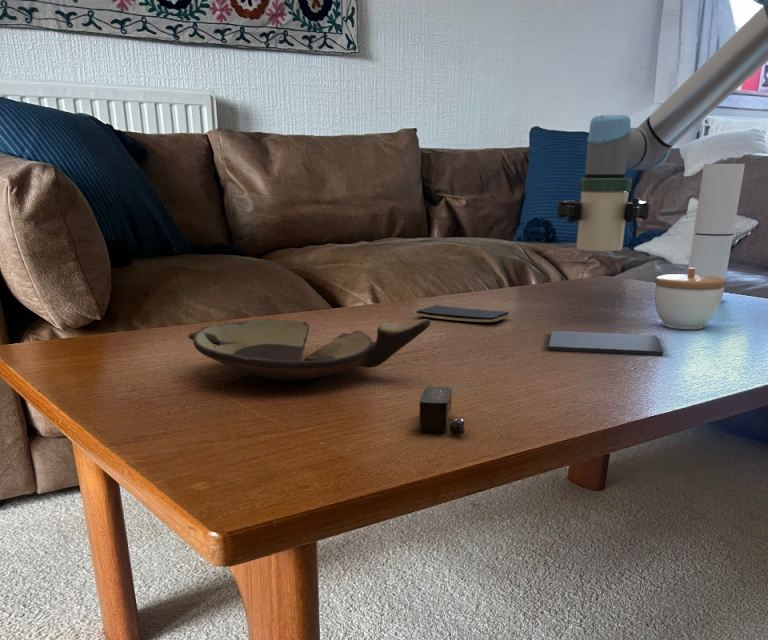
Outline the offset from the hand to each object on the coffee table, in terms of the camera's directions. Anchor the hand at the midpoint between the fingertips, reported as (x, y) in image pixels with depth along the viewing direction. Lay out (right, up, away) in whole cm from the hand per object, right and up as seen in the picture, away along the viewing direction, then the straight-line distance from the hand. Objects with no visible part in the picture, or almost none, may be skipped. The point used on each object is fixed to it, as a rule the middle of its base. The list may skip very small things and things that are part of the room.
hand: (603, 212), depth 125 cm
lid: (+1, +6, +2) cm, 7 cm away
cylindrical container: (+29, -6, +31) cm, 43 cm away
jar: (+1, -4, +7) cm, 8 cm away
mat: (-2, -23, -7) cm, 24 cm away
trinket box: (+15, -17, +6) cm, 24 cm away
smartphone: (-21, -14, +13) cm, 29 cm away
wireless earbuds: (-29, -39, -44) cm, 66 cm away
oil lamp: (-46, -31, -25) cm, 60 cm away
